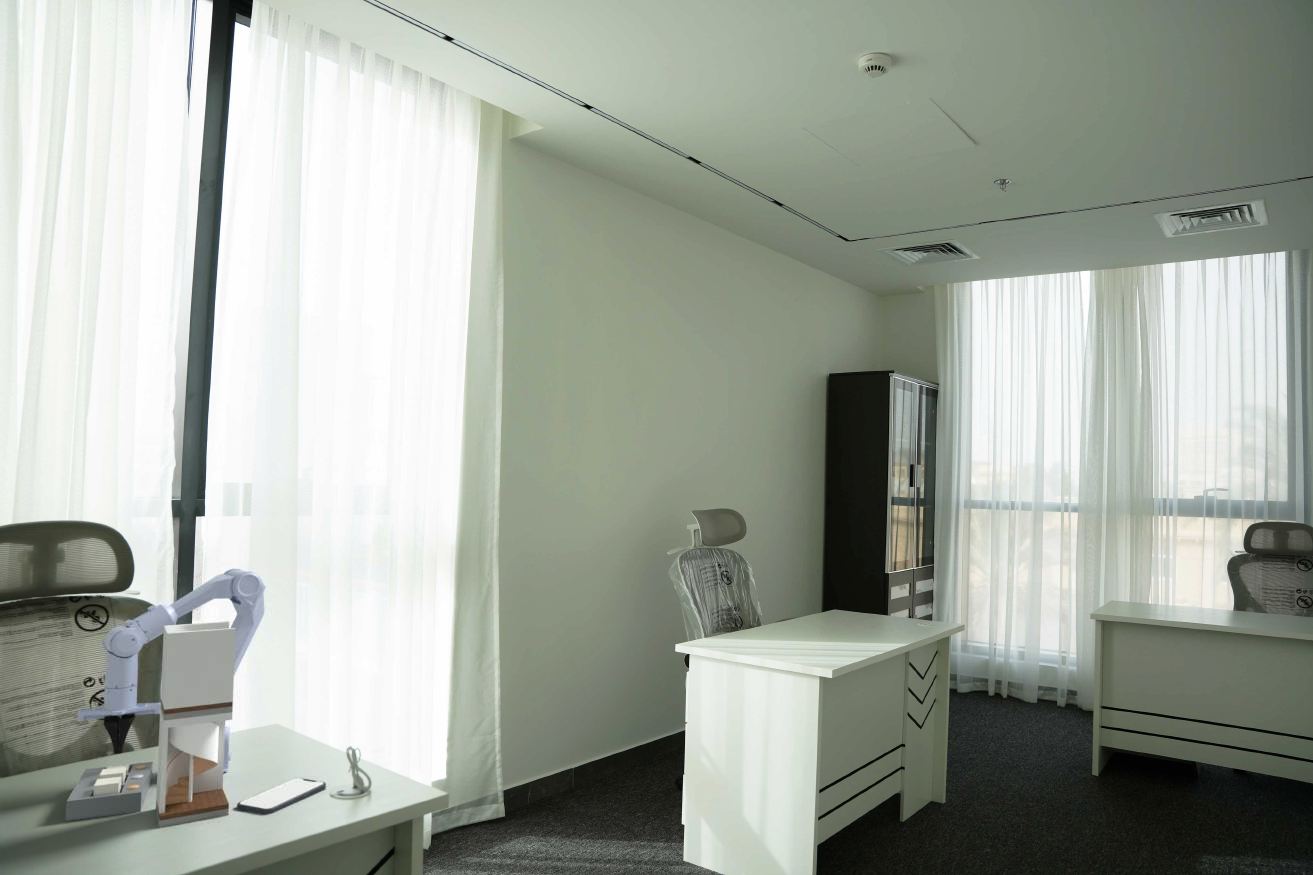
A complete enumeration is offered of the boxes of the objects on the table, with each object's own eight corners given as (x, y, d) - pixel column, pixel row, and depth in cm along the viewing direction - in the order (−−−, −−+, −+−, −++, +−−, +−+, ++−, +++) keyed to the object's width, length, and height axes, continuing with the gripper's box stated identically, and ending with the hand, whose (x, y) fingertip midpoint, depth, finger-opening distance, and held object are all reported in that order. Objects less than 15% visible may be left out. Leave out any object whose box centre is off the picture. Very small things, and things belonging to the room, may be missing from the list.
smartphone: (268, 818, 162) (328, 789, 177) (268, 810, 162) (329, 781, 177) (233, 812, 165) (295, 784, 180) (233, 803, 165) (295, 776, 180)
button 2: (129, 778, 178) (129, 763, 178) (126, 784, 175) (127, 769, 175) (106, 780, 177) (107, 766, 177) (103, 787, 173) (104, 772, 173)
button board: (151, 778, 181) (152, 760, 182) (140, 811, 163) (141, 790, 163) (84, 786, 176) (85, 767, 176) (65, 820, 158) (66, 800, 158)
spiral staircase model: (159, 827, 156) (167, 633, 158) (155, 808, 165) (163, 625, 167) (228, 814, 162) (235, 628, 164) (221, 797, 171) (228, 621, 173)
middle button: (125, 781, 173) (126, 766, 173) (122, 787, 169) (123, 772, 169) (102, 784, 171) (102, 769, 171) (98, 790, 167) (99, 775, 167)
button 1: (120, 791, 167) (121, 776, 167) (117, 798, 163) (118, 782, 163) (96, 794, 165) (97, 779, 165) (93, 801, 161) (93, 785, 162)
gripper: (75, 693, 170) (72, 762, 169) (159, 686, 176) (157, 753, 176) (82, 685, 177) (79, 752, 176) (162, 679, 183) (160, 743, 182)
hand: (118, 752), depth 176 cm, fingers closed
